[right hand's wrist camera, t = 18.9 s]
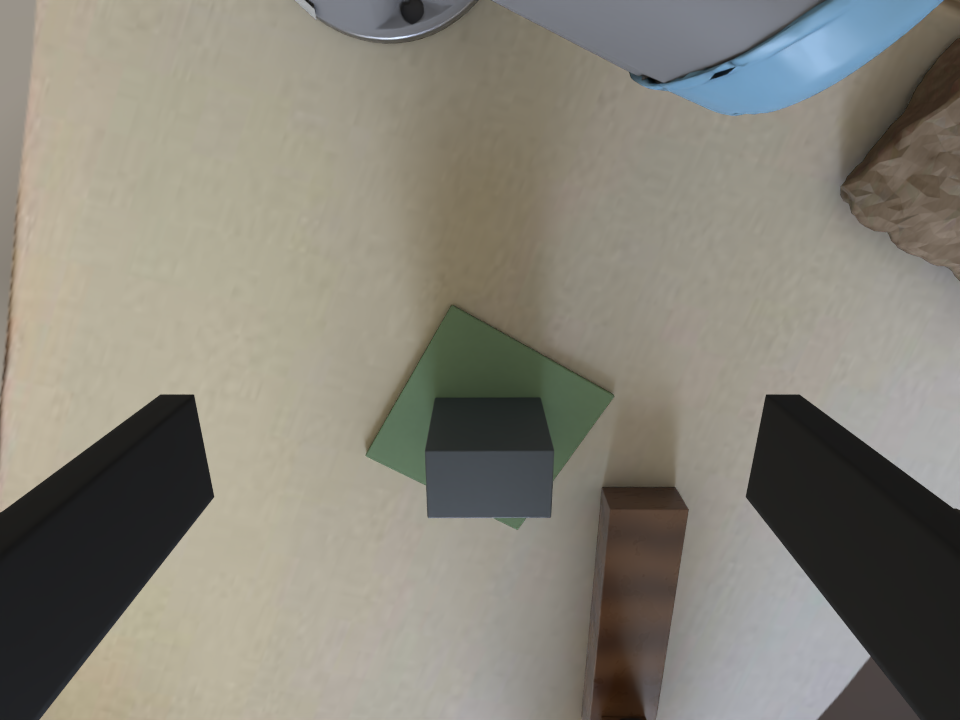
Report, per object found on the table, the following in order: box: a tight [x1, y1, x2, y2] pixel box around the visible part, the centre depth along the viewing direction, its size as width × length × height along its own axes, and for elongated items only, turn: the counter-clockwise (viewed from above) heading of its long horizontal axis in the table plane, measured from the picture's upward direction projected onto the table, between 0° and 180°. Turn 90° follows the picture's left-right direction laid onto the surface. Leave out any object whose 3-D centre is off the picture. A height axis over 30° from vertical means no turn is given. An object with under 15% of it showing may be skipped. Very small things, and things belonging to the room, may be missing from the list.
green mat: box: [366, 305, 614, 530], centre depth 42 cm, size 14×14×1 cm
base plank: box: [582, 487, 689, 720], centre depth 45 cm, size 26×6×9 cm, turn 0°
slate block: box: [425, 397, 554, 518], centre depth 38 cm, size 5×8×8 cm, turn 90°
